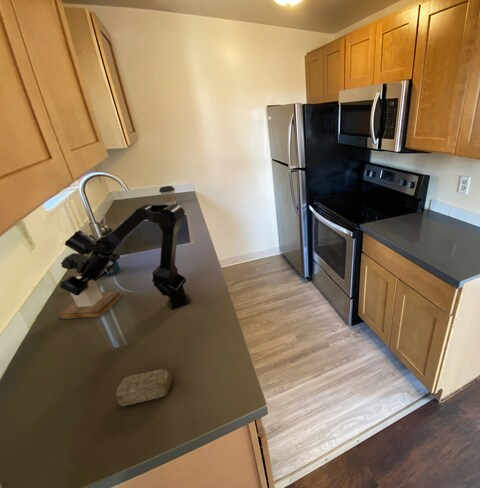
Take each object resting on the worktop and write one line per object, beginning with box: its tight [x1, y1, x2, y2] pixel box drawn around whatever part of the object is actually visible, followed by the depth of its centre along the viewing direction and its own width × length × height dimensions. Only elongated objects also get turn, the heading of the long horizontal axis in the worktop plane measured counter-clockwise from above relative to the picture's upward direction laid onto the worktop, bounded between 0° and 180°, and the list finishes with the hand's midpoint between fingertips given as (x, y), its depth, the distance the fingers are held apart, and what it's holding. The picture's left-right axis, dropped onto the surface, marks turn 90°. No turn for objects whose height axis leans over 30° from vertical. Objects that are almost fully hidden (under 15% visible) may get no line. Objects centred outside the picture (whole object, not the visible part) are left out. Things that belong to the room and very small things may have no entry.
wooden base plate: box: [58, 291, 122, 320], centre depth 105 cm, size 14×12×2 cm
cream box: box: [70, 275, 103, 307], centre depth 103 cm, size 6×6×10 cm
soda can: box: [104, 260, 121, 277], centre depth 127 cm, size 7×7×12 cm
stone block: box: [115, 367, 173, 407], centre depth 70 cm, size 6×12×5 cm, turn 106°
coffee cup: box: [158, 185, 177, 205], centre depth 225 cm, size 11×11×15 cm
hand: (80, 288), depth 102 cm, fingers closed on cream box, 5 cm apart
